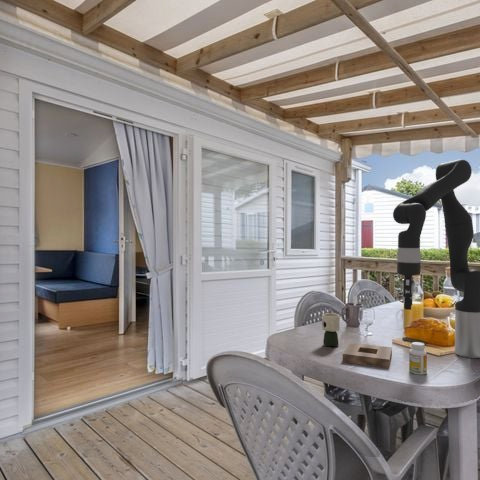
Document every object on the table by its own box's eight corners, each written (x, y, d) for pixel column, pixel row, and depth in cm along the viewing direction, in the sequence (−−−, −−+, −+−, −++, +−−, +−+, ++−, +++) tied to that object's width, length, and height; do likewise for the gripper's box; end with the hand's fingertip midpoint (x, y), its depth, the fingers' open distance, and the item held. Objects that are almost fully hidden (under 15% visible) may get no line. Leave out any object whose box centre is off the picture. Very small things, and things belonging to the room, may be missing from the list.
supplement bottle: (421, 369, 132) (421, 341, 132) (429, 374, 127) (430, 345, 127) (406, 369, 132) (406, 341, 132) (413, 375, 127) (414, 345, 126)
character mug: (320, 341, 166) (320, 312, 166) (337, 342, 165) (337, 312, 165) (323, 349, 155) (323, 317, 155) (341, 349, 155) (341, 317, 154)
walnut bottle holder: (391, 355, 148) (391, 347, 148) (389, 368, 133) (389, 359, 133) (349, 350, 154) (349, 342, 154) (342, 361, 140) (342, 353, 140)
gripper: (420, 262, 125) (419, 312, 125) (421, 260, 138) (420, 305, 138) (395, 261, 128) (395, 310, 128) (398, 259, 141) (398, 303, 141)
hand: (408, 307), depth 133 cm, fingers open, 8 cm apart
